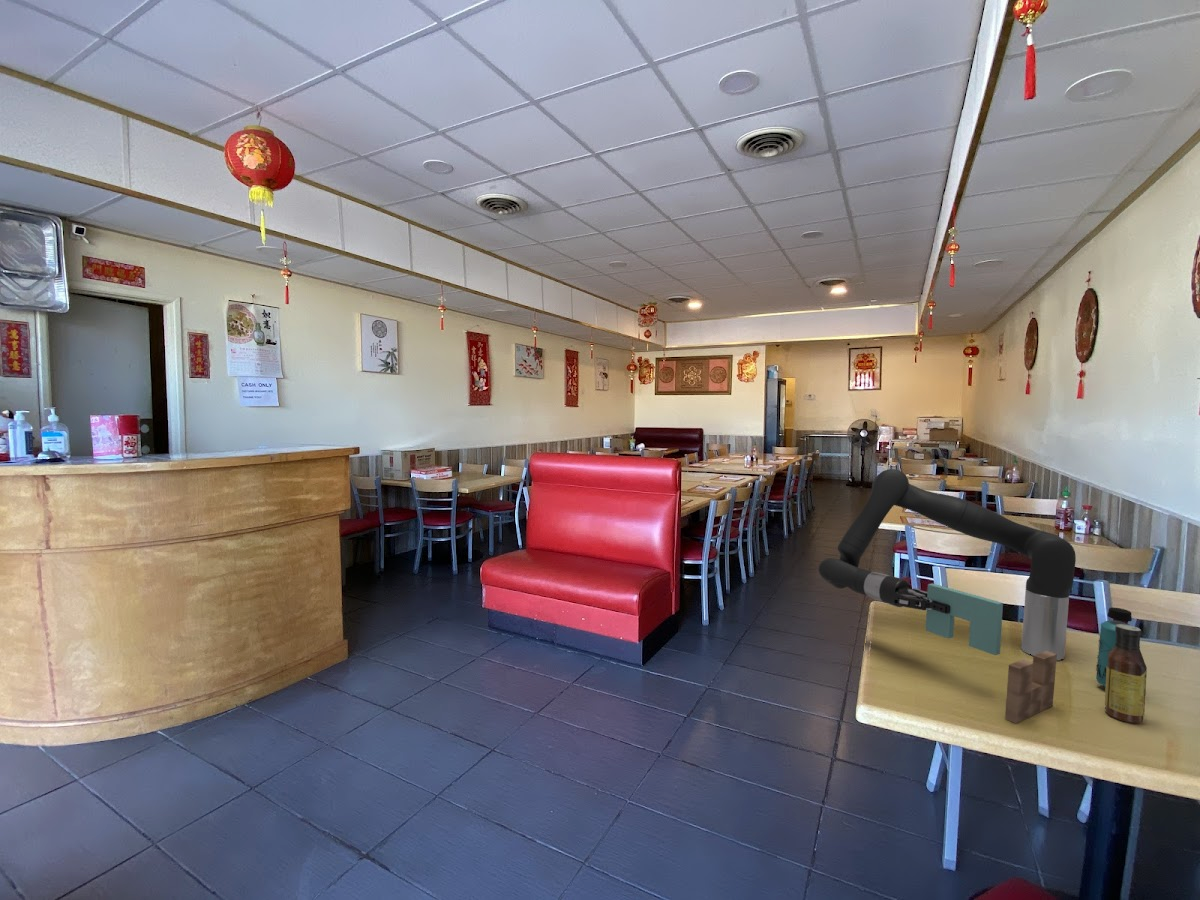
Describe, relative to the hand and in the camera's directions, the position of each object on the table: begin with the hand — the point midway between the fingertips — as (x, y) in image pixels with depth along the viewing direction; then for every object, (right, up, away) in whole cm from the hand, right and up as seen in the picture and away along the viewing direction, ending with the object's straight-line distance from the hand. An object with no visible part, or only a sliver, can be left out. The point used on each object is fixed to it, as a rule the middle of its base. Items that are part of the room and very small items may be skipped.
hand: (952, 608), depth 133 cm
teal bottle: (+36, -19, -4) cm, 41 cm away
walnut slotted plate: (+8, -19, -14) cm, 25 cm away
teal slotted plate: (+1, -7, -2) cm, 8 cm away
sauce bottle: (+27, -19, -15) cm, 37 cm away
